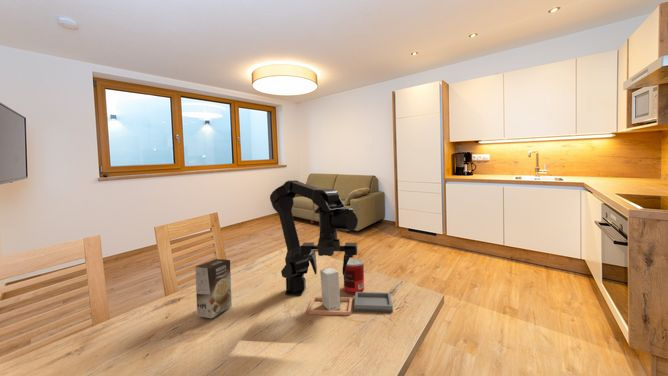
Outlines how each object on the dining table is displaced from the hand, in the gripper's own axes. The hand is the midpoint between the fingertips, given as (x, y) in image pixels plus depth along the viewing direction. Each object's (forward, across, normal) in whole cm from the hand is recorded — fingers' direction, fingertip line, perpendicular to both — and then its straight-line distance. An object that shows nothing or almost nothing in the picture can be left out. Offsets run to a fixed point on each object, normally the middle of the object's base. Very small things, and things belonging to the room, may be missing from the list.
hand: (329, 274), depth 90 cm
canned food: (+11, +7, +14) cm, 19 cm away
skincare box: (+11, 0, 0) cm, 11 cm away
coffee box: (+11, -38, -5) cm, 40 cm away
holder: (+11, 0, 0) cm, 11 cm away
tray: (+11, +14, +2) cm, 18 cm away
